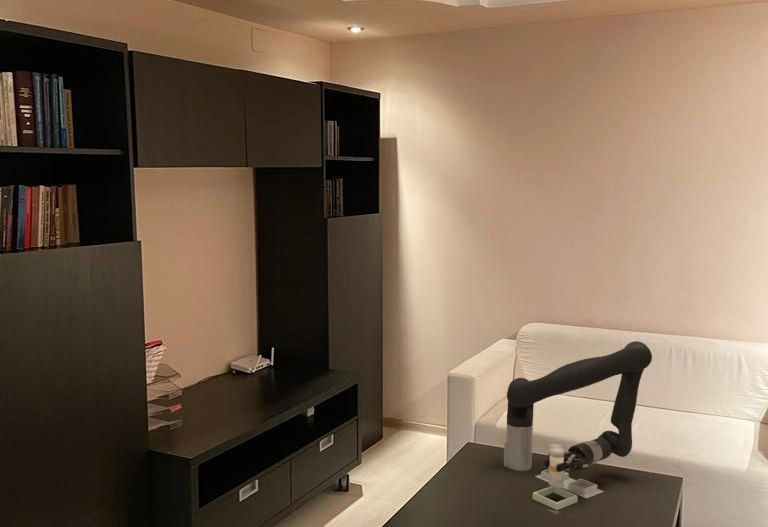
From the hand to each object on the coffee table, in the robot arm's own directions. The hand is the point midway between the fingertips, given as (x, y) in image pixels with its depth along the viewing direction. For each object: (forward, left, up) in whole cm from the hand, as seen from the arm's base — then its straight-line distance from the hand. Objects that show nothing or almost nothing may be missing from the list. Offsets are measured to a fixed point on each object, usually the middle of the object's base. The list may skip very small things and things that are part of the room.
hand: (551, 466), depth 230 cm
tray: (+1, +2, -14) cm, 14 cm away
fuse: (-4, +20, -12) cm, 24 cm away
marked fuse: (+1, +2, -7) cm, 8 cm away
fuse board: (+1, +18, -14) cm, 22 cm away
